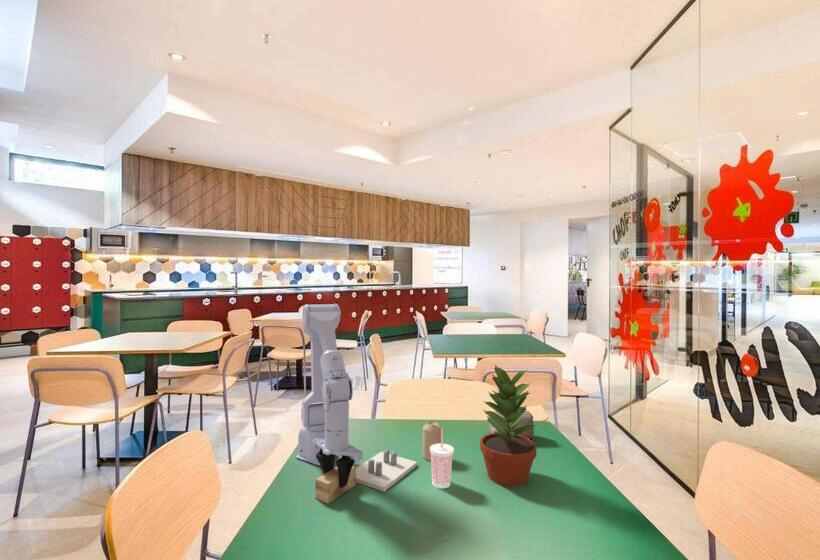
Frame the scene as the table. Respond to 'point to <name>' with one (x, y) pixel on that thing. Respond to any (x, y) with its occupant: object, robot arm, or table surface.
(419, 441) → the table surface
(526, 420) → the food item
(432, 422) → the candle
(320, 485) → the tan rectangular block
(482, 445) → the potted plant
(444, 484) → the beverage cup
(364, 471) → the peg base
